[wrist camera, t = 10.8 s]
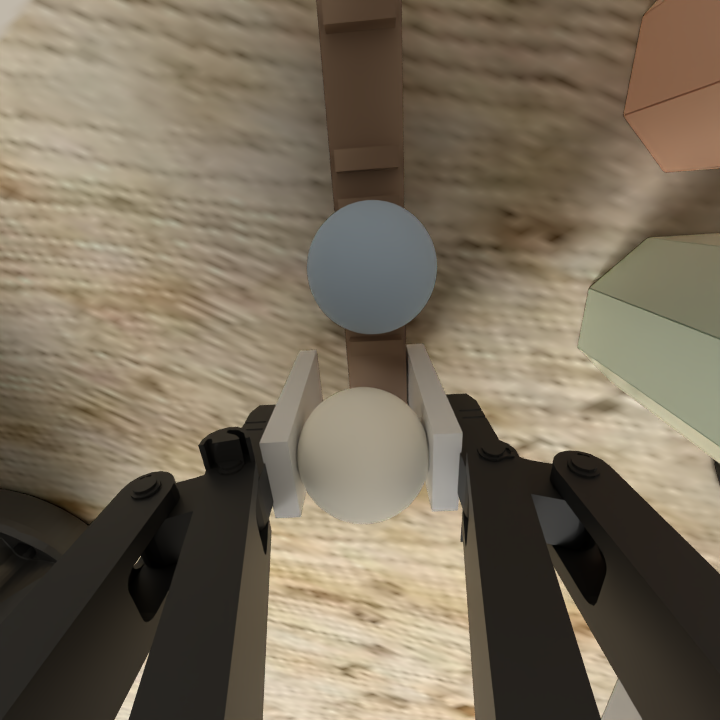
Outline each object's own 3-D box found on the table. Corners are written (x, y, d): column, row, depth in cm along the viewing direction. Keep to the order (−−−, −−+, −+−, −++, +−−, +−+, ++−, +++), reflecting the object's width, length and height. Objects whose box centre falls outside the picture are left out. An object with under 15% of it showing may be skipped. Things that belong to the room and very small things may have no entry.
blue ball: (323, 316, 14) (305, 357, 10) (310, 204, 12) (284, 205, 8) (426, 311, 14) (446, 350, 10) (427, 196, 12) (452, 193, 8)
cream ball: (314, 463, 14) (296, 559, 10) (300, 369, 12) (272, 442, 8) (418, 458, 13) (440, 553, 10) (418, 362, 12) (445, 433, 8)
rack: (357, 397, 20) (353, 450, 16) (329, 30, 13) (309, -50, 9) (400, 396, 20) (408, 448, 15) (393, 23, 13) (402, -61, 9)
